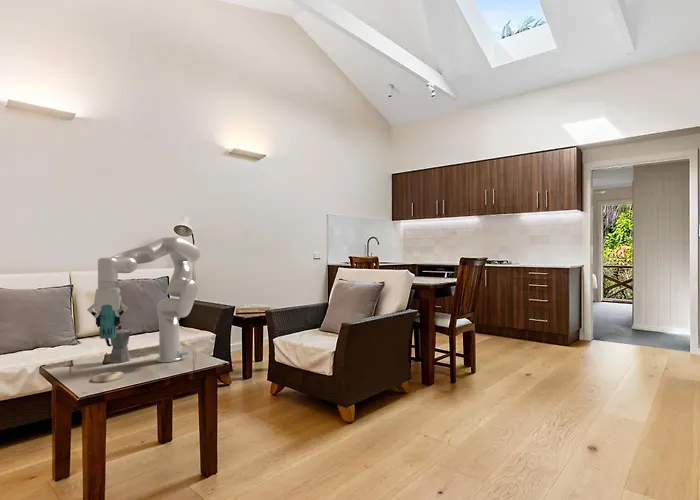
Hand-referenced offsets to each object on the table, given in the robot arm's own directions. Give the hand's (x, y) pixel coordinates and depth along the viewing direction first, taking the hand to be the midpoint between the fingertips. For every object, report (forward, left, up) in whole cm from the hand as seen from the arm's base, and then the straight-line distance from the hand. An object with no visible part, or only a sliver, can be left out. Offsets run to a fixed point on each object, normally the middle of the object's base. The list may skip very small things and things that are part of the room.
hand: (108, 325), depth 182 cm
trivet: (0, 0, -23) cm, 23 cm away
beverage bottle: (0, 0, -7) cm, 7 cm away
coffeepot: (+3, -32, -23) cm, 40 cm away
